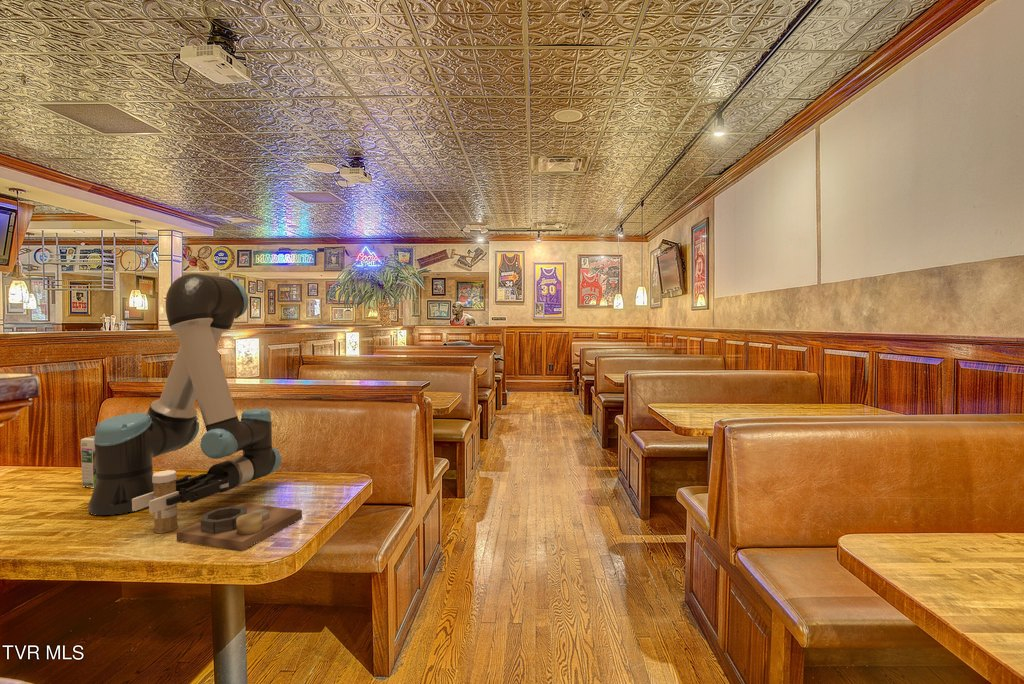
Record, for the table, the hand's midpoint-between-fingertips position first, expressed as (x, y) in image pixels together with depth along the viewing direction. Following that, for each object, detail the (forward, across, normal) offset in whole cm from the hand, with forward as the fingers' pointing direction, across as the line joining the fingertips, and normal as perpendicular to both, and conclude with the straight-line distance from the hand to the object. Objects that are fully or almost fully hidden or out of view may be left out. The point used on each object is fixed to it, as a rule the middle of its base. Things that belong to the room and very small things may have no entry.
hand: (141, 506), depth 109 cm
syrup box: (-24, +50, -8) cm, 56 cm away
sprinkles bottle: (-5, 0, -8) cm, 9 cm away
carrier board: (-10, -17, -8) cm, 21 cm away
